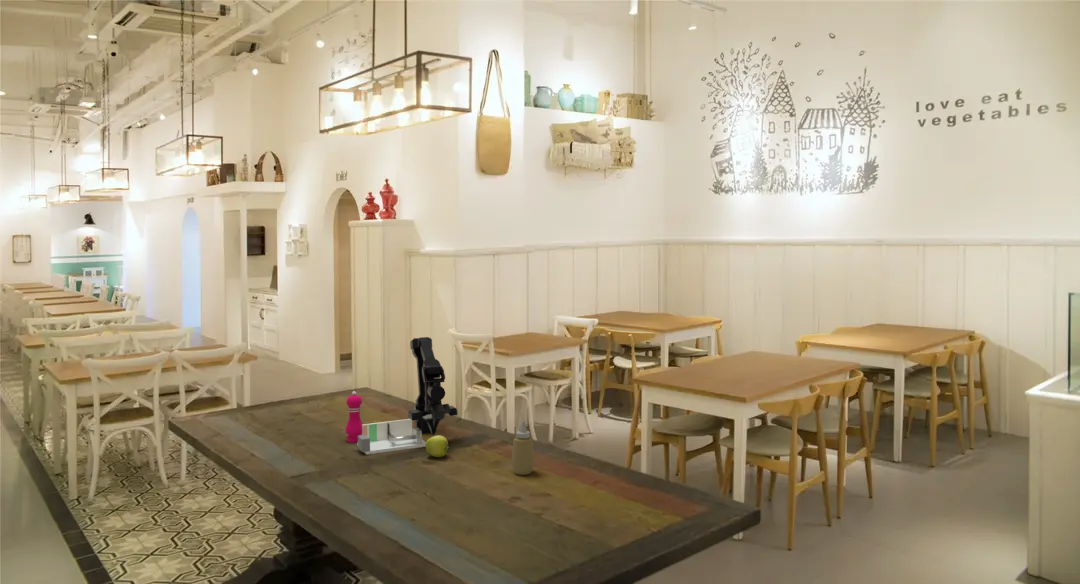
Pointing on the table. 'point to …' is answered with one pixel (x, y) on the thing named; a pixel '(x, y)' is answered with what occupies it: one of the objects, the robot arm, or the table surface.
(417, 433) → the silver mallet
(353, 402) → the pepper mill
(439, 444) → the apple
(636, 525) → the table surface
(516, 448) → the squeeze bottle
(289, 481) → the table surface
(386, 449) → the gauge base
